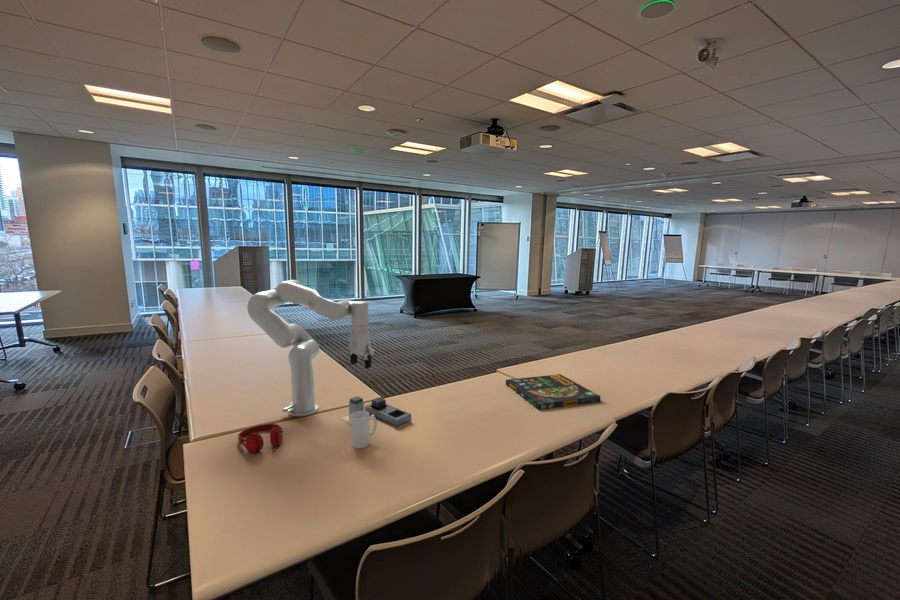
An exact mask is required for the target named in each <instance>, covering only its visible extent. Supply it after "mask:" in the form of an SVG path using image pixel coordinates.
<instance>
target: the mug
mask: <svg viewBox="0 0 900 600" xmlns="http://www.w3.org/2000/svg"><path fill="white" fill-rule="evenodd" d="M370 420H372V421H373V427H372V429H371V430H370V427H369V426H370ZM377 422H378V421H377V418H376V417H375V416H374V414H373V415H369V413H368V412H365V410H364V411H358V412H354V413H352V414H351V424H350V431H351V447H353V448H354V449H360V450H361V449H364V448H366V447H368V446H369V444H370V441H369V438H370V437H371V436H374V435H375V432H376V429H377V426H378V423H377Z"/></svg>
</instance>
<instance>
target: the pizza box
mask: <svg viewBox="0 0 900 600" xmlns="http://www.w3.org/2000/svg"><path fill="white" fill-rule="evenodd" d="M506 385H507V387H508V388H509V387H510V388H511V389H510V388H509V389H510V390H511V391H513V392H514V391H515V392H516V394H517V395H518V394H519V395H520V396H519V395H518V396H519V397H521V398H522V399H523V398H524V399H523V400H525V401H526V402H527V401H528V402H529V403H528V402H527V403H528V404H530V405H531V406H532V405H533V406H532V407H533V408H534V409H536V410H537V409H538V410H537V411H543V410H549V409H550V408H551V409H555V408H556V409H557V408H558V409H559V408H565V406H566V407H571V406H572V407H573V406H580V405H589V404H594V403H600V402H601V395H599V394H598V393H596V392H594V391H592V390H590V389H588V388H586V387H584V386H582V385H581V384H579V383H577V382H576V381H574V380H572V379H570V378H568V377H566V376H564V375H562V374H561V373H560V374H559V373H558V374H551V375H550V374H549V375H539V376H538V375H537V376H530V377H520V378H509V379H505V386H506ZM515 392H514V393H515ZM551 409H550V410H551Z"/></svg>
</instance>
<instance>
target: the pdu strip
mask: <svg viewBox="0 0 900 600" xmlns="http://www.w3.org/2000/svg"><path fill="white" fill-rule="evenodd" d="M364 411H365V412H368V413H369V416H371V415H373V414H374V416H375V418H376V419H378V420H381V421H383V422H385V423H387V424H390V425H392V426H394V427H396V428H397V429H399V428H401V427H402V426H405V425H407V424H409V423H411V422H412V413H410V412H407V411H405V410H403V409H400V408H398V407H395V406H392V405H390V404H387V400H386V399H385V398H382V397H376V398H374V399H371V403H370V404H366V405H364Z"/></svg>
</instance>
